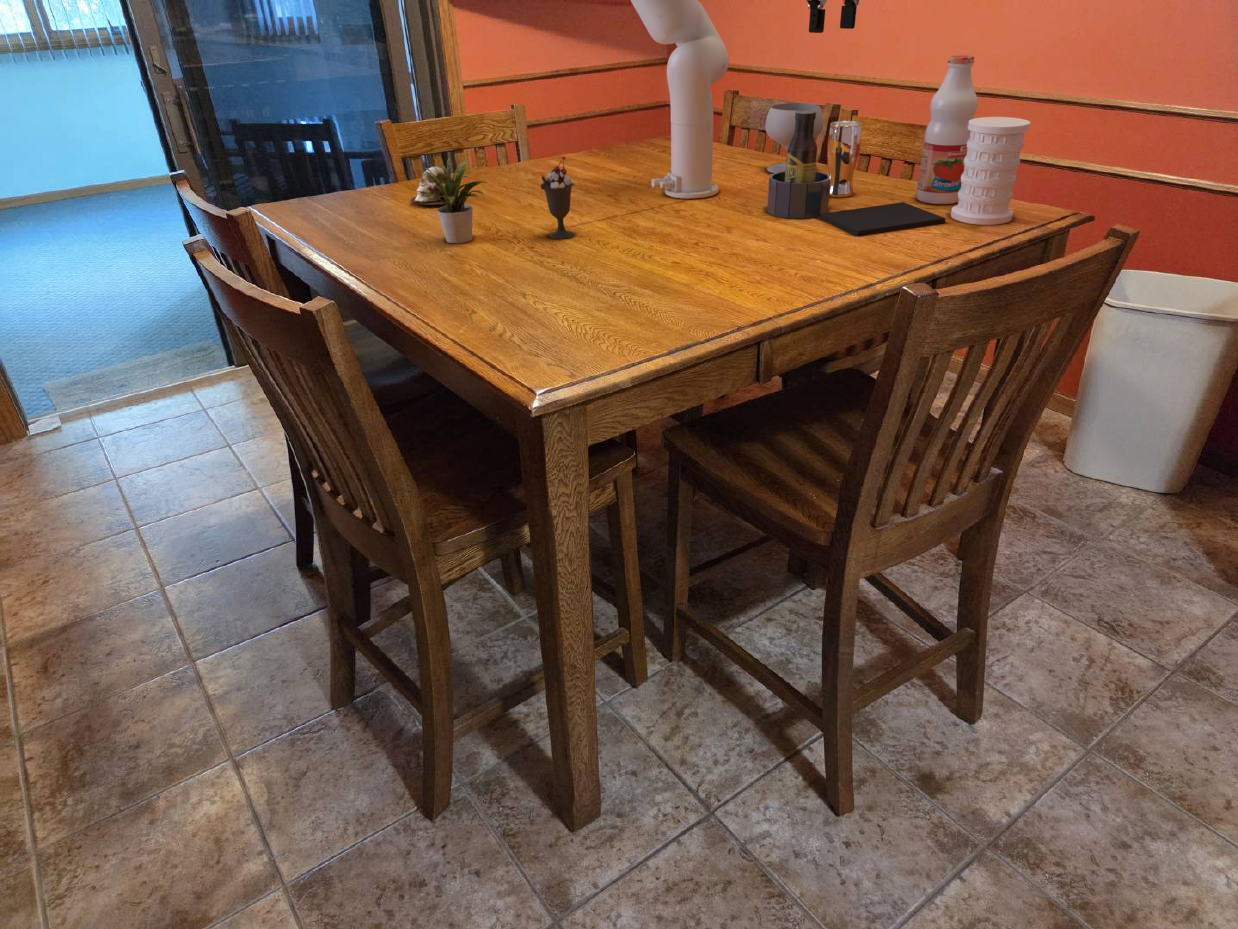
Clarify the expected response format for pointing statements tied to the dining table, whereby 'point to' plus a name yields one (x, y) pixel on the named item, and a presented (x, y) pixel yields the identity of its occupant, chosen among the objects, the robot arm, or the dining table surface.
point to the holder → (798, 196)
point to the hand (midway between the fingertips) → (831, 30)
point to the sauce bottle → (802, 150)
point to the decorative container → (990, 170)
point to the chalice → (788, 125)
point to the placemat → (881, 218)
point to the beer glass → (843, 156)
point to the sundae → (558, 198)
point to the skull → (429, 189)
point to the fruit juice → (947, 134)
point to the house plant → (454, 203)
